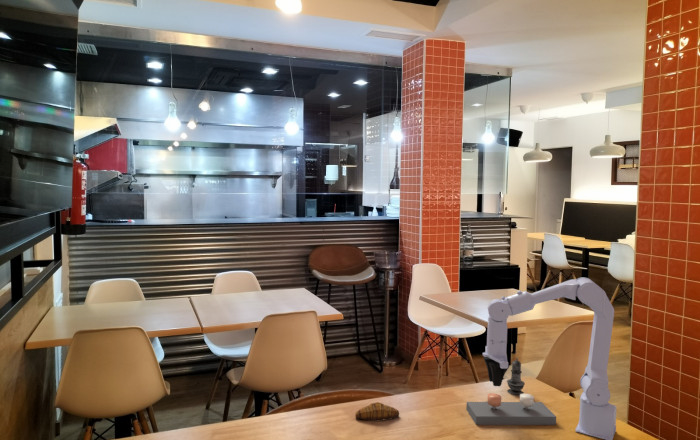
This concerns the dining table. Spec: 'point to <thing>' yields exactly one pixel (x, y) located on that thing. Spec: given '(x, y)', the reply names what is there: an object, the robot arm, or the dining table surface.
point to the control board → (510, 414)
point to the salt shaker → (515, 379)
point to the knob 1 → (494, 400)
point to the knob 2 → (526, 400)
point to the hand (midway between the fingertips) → (495, 383)
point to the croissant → (377, 412)
